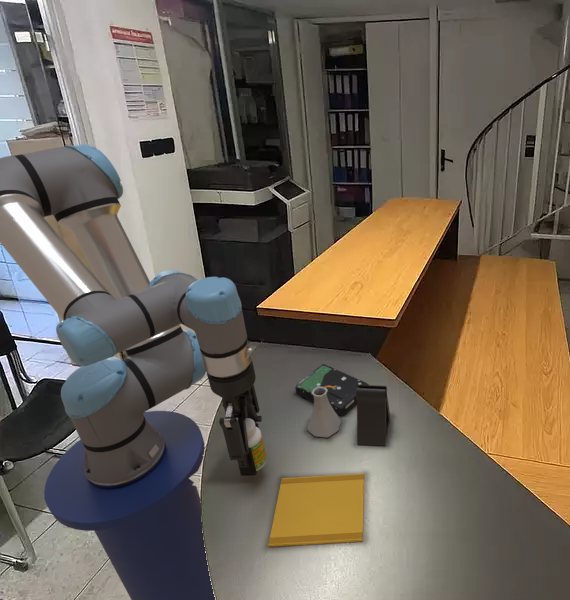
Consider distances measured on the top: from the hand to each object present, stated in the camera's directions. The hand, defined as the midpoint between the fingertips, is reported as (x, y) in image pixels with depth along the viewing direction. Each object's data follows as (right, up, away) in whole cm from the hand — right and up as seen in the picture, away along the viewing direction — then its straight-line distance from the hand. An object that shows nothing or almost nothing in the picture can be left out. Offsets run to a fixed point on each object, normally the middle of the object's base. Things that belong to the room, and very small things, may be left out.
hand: (252, 461), depth 93 cm
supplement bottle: (0, 0, 0) cm, 1 cm away
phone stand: (+23, +3, +12) cm, 26 cm away
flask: (+12, +3, +14) cm, 18 cm away
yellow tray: (+14, -7, -5) cm, 16 cm away
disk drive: (+12, +8, +23) cm, 28 cm away
